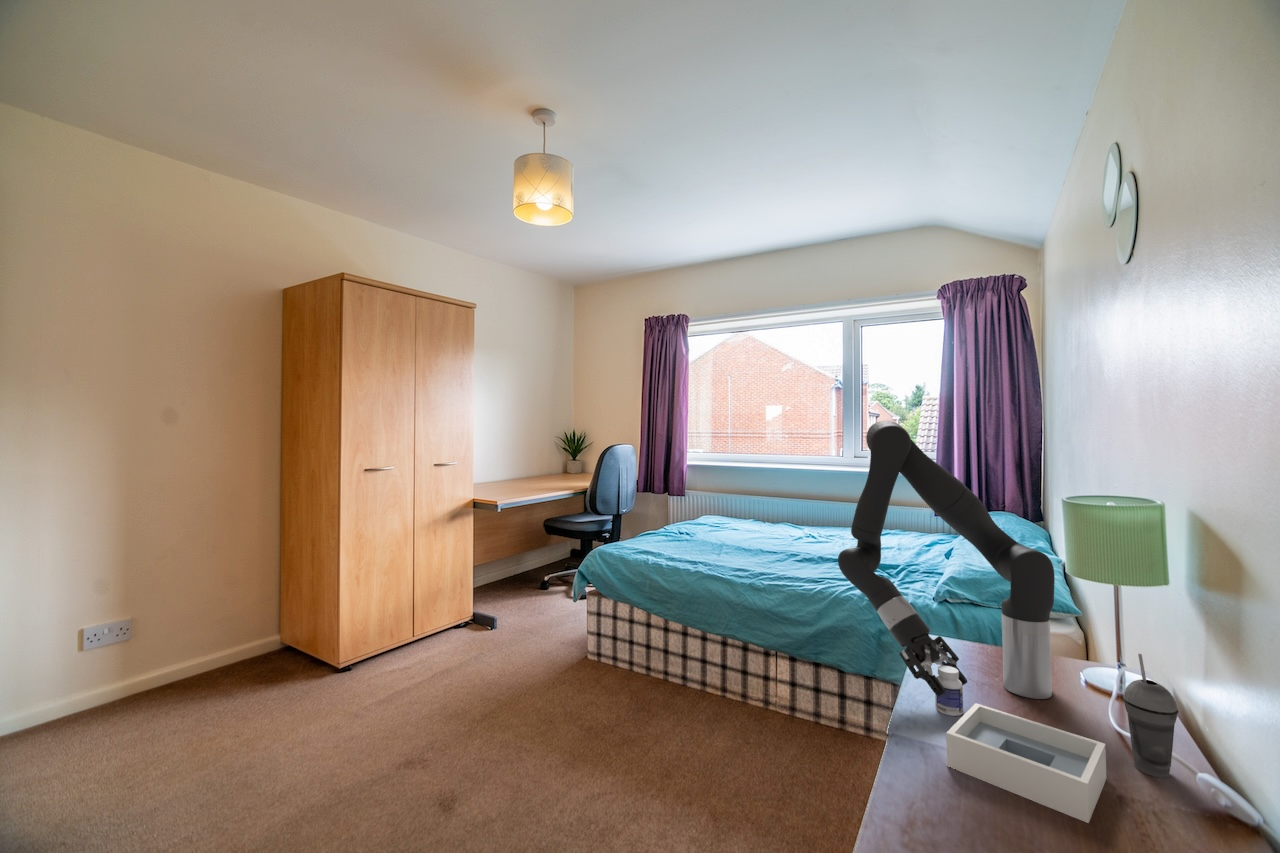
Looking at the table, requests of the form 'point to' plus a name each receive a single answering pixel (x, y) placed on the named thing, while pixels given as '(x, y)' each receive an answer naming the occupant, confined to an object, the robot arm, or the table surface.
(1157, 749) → the beverage cup
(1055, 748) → the bore box
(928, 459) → the robot arm
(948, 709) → the pill bottle
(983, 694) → the table surface
